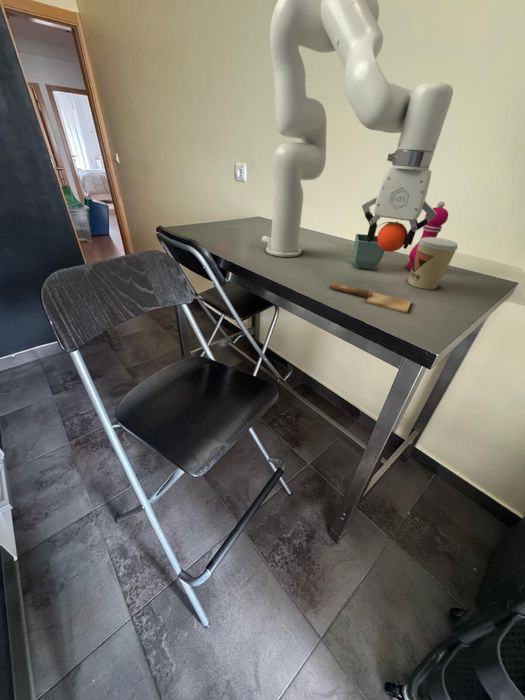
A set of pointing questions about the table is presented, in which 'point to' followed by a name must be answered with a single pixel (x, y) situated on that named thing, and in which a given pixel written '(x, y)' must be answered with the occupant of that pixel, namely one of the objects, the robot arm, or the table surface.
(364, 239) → the flower pot
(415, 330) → the table surface
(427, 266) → the coffee cup
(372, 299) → the spatula
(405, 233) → the clementine
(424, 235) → the pepper mill
